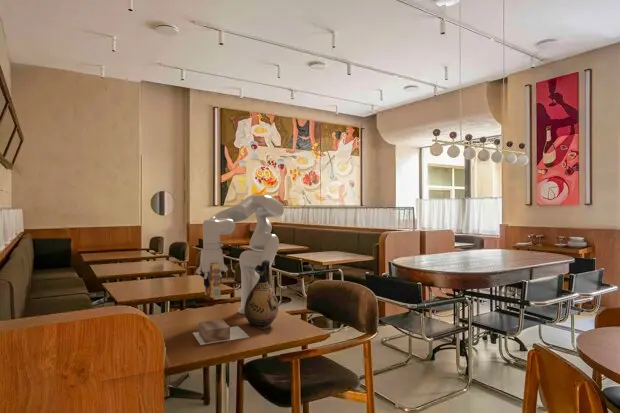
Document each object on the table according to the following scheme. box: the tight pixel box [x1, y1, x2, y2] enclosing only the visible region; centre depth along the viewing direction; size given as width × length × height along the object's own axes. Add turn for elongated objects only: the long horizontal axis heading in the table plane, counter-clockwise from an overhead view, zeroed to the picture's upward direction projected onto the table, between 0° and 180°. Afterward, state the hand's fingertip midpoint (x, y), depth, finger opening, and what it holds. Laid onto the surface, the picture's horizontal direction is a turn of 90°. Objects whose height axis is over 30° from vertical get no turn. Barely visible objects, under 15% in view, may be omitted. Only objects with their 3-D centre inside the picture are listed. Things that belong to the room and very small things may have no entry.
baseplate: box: [192, 325, 250, 346], centre depth 167 cm, size 20×16×1 cm
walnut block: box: [198, 318, 231, 344], centre depth 164 cm, size 10×12×5 cm
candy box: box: [204, 263, 221, 299], centre depth 181 cm, size 9×4×15 cm, turn 38°
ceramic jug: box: [244, 260, 279, 330], centre depth 182 cm, size 17×15×30 cm
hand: (212, 286), depth 181 cm, fingers closed on candy box, 4 cm apart
